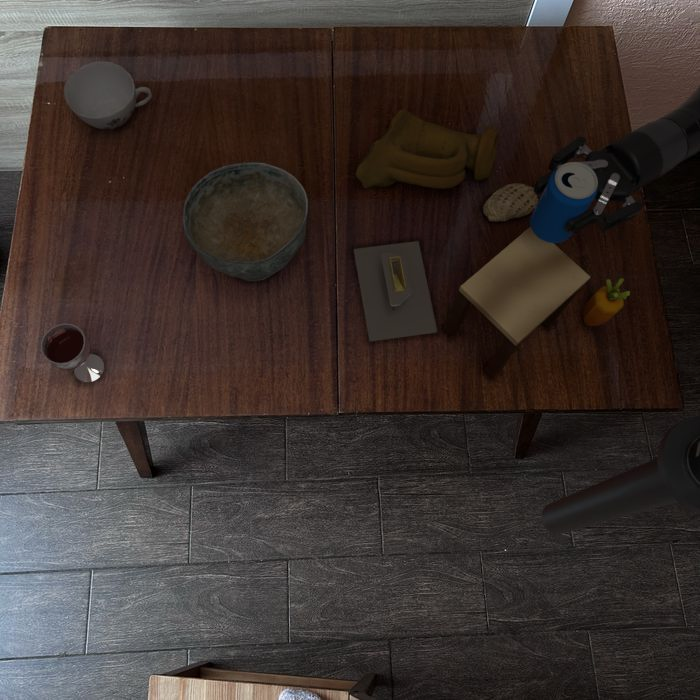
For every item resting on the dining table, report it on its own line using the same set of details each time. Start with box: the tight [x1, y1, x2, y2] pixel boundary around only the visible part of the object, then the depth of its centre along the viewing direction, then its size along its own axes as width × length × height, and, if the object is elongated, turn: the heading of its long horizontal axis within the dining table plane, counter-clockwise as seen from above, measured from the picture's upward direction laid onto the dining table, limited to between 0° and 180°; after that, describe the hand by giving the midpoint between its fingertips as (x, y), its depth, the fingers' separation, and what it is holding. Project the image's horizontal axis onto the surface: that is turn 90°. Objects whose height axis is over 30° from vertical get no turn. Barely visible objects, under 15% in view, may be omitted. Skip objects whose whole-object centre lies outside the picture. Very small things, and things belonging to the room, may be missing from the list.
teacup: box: [63, 60, 153, 130], centre depth 130 cm, size 15×12×8 cm
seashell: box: [482, 182, 539, 223], centre depth 127 cm, size 8×6×10 cm
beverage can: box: [529, 161, 598, 244], centre depth 97 cm, size 6×6×12 cm
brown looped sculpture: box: [355, 108, 500, 190], centre depth 126 cm, size 18×13×22 cm
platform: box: [353, 240, 438, 342], centre depth 120 cm, size 12×18×7 cm, turn 9°
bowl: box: [182, 161, 309, 282], centre depth 118 cm, size 20×19×15 cm
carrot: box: [583, 277, 631, 327], centre depth 115 cm, size 5×5×15 cm
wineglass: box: [40, 322, 105, 383], centre depth 111 cm, size 7×7×12 cm
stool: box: [441, 225, 591, 380], centre depth 113 cm, size 12×16×18 cm
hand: (551, 208), depth 96 cm, fingers closed on beverage can, 6 cm apart
